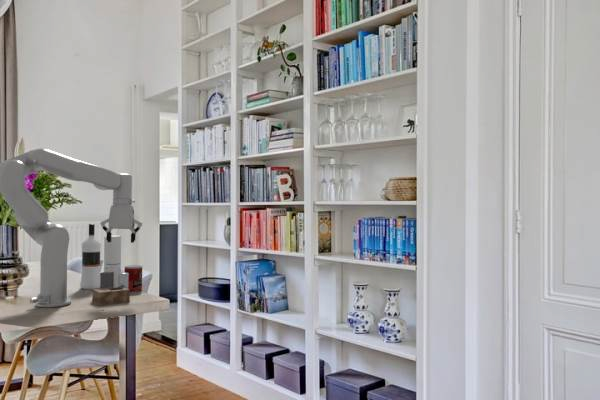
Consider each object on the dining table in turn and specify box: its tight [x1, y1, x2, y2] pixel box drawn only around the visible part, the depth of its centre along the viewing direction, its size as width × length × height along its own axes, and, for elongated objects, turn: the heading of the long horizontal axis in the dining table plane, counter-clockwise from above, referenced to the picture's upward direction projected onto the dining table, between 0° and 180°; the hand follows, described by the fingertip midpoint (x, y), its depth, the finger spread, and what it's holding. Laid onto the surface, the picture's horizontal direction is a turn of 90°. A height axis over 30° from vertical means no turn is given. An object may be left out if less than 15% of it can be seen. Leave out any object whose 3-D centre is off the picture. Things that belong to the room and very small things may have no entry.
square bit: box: [99, 271, 114, 289], centre depth 228 cm, size 4×4×10 cm
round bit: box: [119, 272, 129, 289], centre depth 226 cm, size 4×4×10 cm
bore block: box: [91, 287, 131, 306], centre depth 215 cm, size 12×9×5 cm
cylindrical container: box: [103, 235, 122, 287], centre depth 238 cm, size 7×7×25 cm
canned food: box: [124, 264, 143, 292], centre depth 243 cm, size 8×8×11 cm
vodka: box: [79, 223, 102, 290], centre depth 247 cm, size 9×9×30 cm
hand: (120, 242), depth 227 cm, fingers open, 9 cm apart
